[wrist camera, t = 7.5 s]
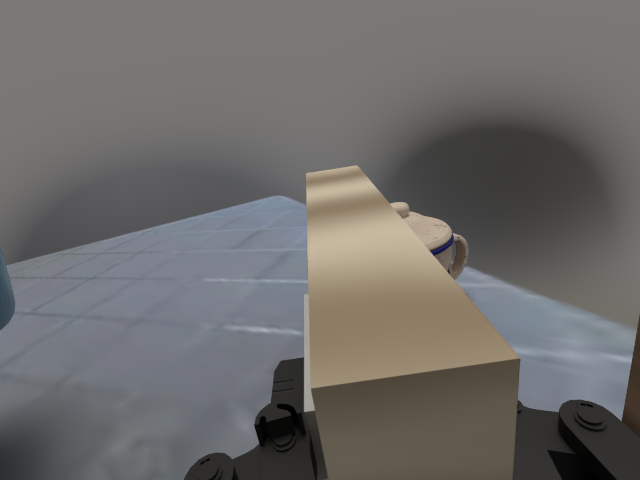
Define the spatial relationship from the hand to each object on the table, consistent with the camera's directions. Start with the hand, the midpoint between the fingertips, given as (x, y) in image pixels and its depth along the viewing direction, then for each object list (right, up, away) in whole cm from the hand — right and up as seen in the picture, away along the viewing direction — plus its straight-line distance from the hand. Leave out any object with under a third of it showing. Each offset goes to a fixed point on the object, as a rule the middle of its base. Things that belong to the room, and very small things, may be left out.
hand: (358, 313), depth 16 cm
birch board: (+1, -7, +1) cm, 7 cm away
